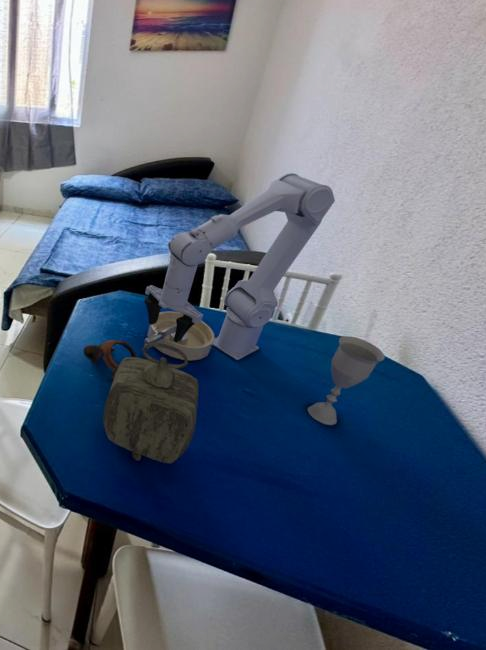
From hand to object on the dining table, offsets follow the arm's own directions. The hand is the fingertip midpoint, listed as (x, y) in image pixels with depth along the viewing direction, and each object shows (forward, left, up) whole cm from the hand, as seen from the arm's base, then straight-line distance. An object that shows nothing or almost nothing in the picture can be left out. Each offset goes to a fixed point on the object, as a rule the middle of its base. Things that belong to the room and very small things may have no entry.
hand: (164, 331), depth 99 cm
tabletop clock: (+27, +18, -6) cm, 33 cm away
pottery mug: (+16, -2, -6) cm, 17 cm away
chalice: (-14, +31, -6) cm, 35 cm away
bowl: (-7, 0, -6) cm, 9 cm away
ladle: (-1, 0, -6) cm, 6 cm away
